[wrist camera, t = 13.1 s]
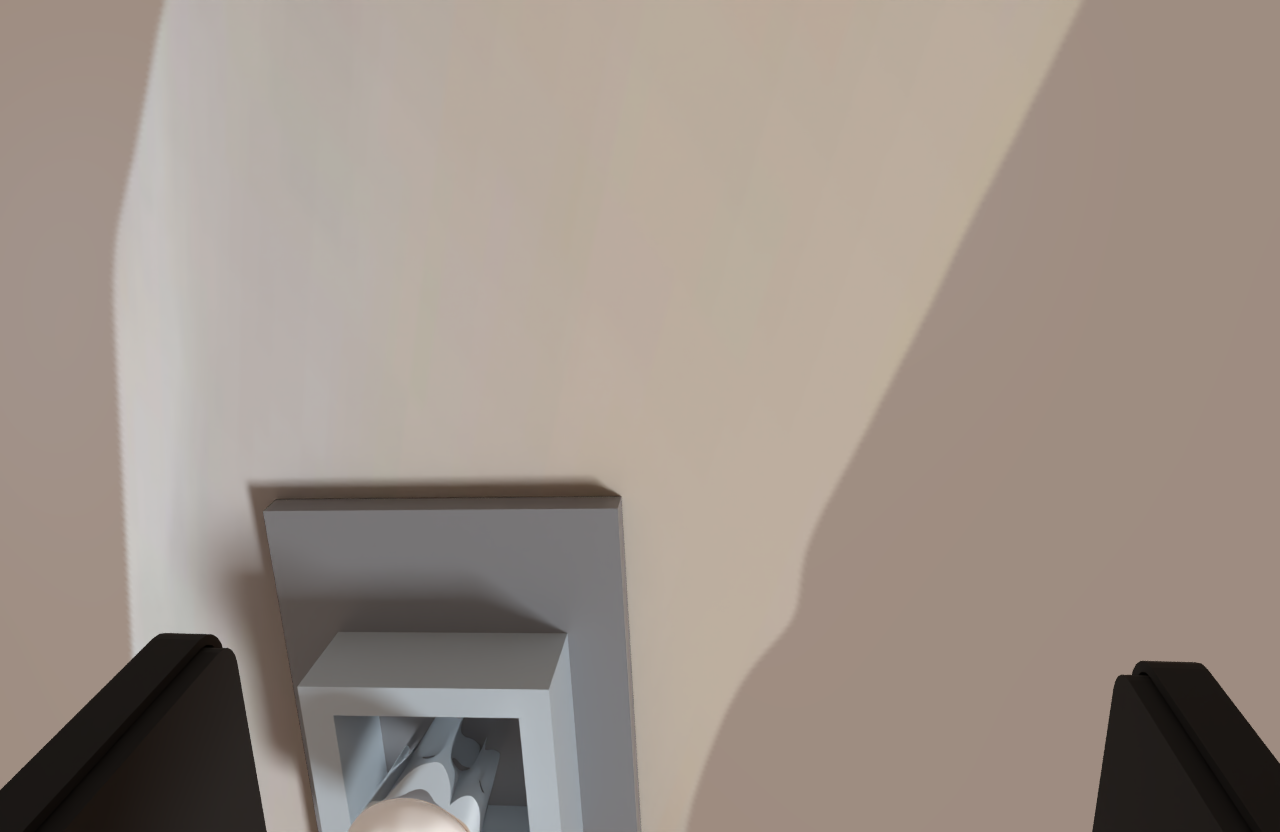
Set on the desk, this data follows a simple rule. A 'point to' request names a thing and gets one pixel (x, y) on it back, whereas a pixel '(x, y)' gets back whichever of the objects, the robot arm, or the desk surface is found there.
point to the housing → (463, 647)
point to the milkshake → (439, 779)
